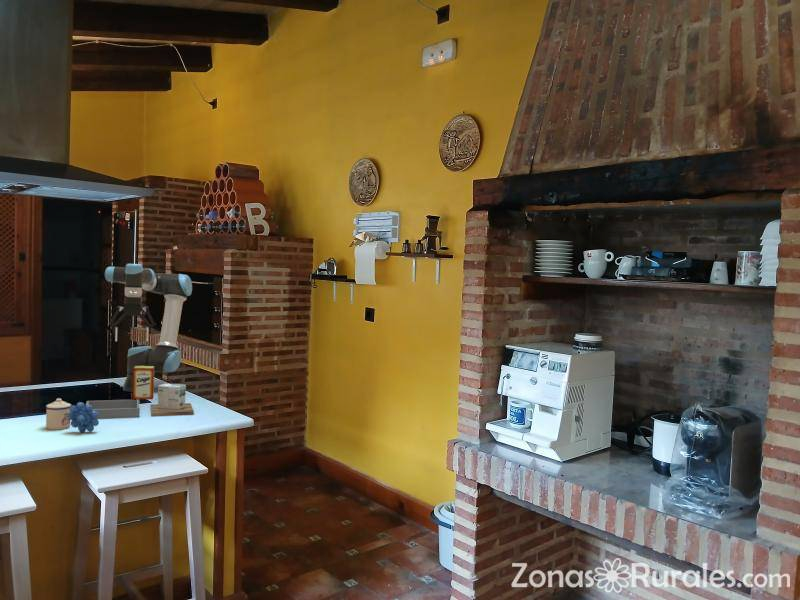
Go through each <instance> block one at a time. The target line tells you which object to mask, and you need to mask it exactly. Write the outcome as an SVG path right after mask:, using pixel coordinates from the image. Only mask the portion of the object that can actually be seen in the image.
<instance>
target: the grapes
mask: <svg viewBox="0 0 800 600" xmlns="http://www.w3.org/2000/svg"><path fill="white" fill-rule="evenodd" d="M92 410H93V407H92V406H91V405H90V404H87V405H86V404H85V403H84V402H80V401H79V402H77V403H76V405H74V404H73V405H72V404H71V407H70V411H71V412H70V413H68V415H67V417H68V419H69V420H70V427H73V428H75V429H76V428H77V429H78V431H79V432H81V433H84V432H86V431H87V432H93V431H94V429H95V427H97V426H99V425H100V423H99V419H96V418H97V417H98V413H97V411H94V410H93V411H92Z"/></svg>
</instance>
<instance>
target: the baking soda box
mask: <svg viewBox="0 0 800 600" xmlns="http://www.w3.org/2000/svg"><path fill="white" fill-rule="evenodd" d="M154 367H155V366H134V368H133V392H132V396H131V397H132V398H131V400H132V399H133V400H134V399H139V400H153V399H154V394H155V393H154V392H155V391H154V390H155V371H154Z"/></svg>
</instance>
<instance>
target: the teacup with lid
mask: <svg viewBox="0 0 800 600" xmlns="http://www.w3.org/2000/svg"><path fill="white" fill-rule="evenodd" d="M71 406H72V404H71V403H68V402H67V401H64V400H62V398H56V400H55V401H53V402H51V403H48V404H46V406H45V409H46V416H45V419H46V420H45V427H46V429H47V430H50V431H51V430H53V431H56V430H57V431H58V430H65V429H68V428H70V427H71V420H69V419H68V417H67V415H68V413H70V412H71V411H70V407H71Z"/></svg>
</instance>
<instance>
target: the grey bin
mask: <svg viewBox="0 0 800 600" xmlns="http://www.w3.org/2000/svg"><path fill="white" fill-rule="evenodd" d="M87 404H90V405H91V406H92V407H93V410H94V411H97V413H98V417H97V418H96V419H97V420H100V419H101V420H103V419H129V418H140V399H136V400H132V399H112V400H110V399H108V400H86V403H85V405H87ZM93 410H92V411H93Z"/></svg>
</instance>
